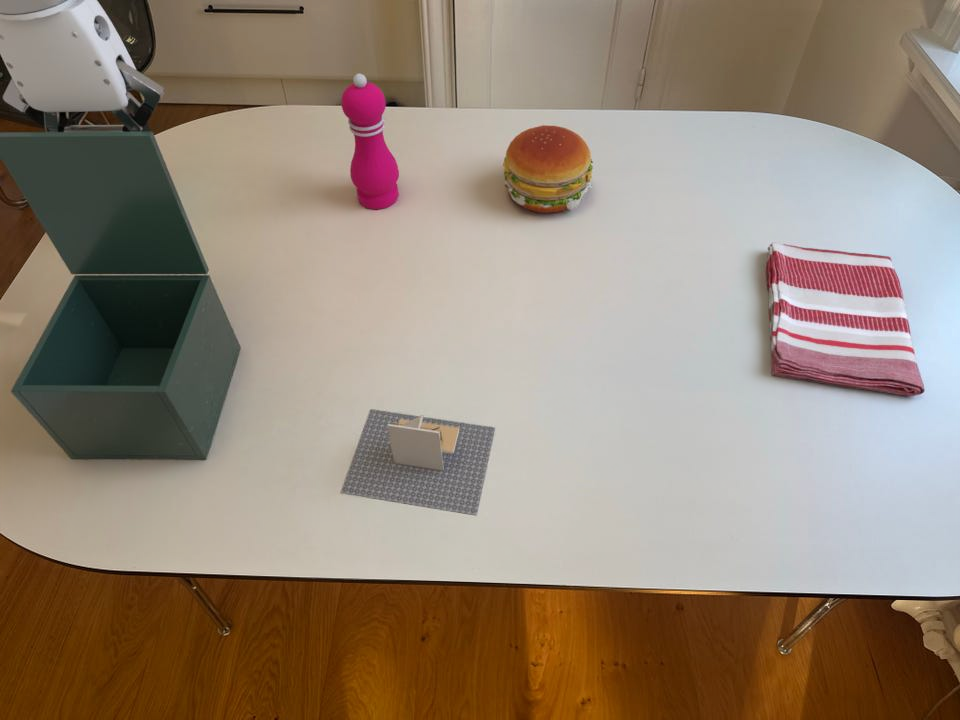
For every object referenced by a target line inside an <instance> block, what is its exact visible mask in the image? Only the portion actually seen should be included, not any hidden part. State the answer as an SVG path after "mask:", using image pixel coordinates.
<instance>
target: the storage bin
mask: <svg viewBox="0 0 960 720" xmlns="http://www.w3.org/2000/svg"><path fill="white" fill-rule="evenodd" d="M241 349H242V347H241V345H240V343H239V340H238V338H237V336H236V333H235V331H234V329H233V326H232V323H231V322H230V319H229V317H228V315H227V313H226V310H225V308H224V306H223V304H222V302H221V298H220V297H219V294H218V292H217V290H216V287H215V285H214V282H213V281H212V278H211V276H210V274H74V276H73V278H72V280H71V281H70V283H69V284H68V286H67V288H66V290H65V291H64V294H63V296H62V298H61V299H60V301H59V303H58V305H57V306H56V309H55V310H54V312H53V314H52V316H51V317H50V319H49V321H48V323H47V325H46V327H45V328H44V330H43V332H42V334H41V336H40V337H39V339H38V341H37V342H36V345H35V347H34V348H33V350H32V351H31V353H30V356H29V357H28V358H27V361H26V363H25V365H24V366H23V368H22V370H21V372H20V373H19V375H18V377H17V379H16V381H15V383H14V384H13V386H12V387H11V390H10V392H11V394H13V396H14V397H15V398H16V399H17V400H18V401H19V402H20V404H21V405H23V407H24V408H25V409H26V410H27V411H28V413H30V415H31V416H32V417H33V419H35V421H37V423H39V425H40V426H41V428H43V429H44V431H45V432H46V433H47V434H48V435H49V436H50V437H51V438H52V440H53V441H54V442H55V443H56V444H57V445H58V446H59V447H60V448H61V450H62V451H63V452H64V453H65V454H66V455H67V456H68V458H69V459H70V460H167V461H168V460H176V461H177V460H178V461H180V460H181V461H183V460H184V461H185V460H188V461H193V460H194V461H206V460H207V459H208V456H209V453H210V450H211V446H212V443H213V440H214V435H215V433H216V430H217V426H218V423H219V420H220V418H221V415H222V414H221V413H222V410H223V408H224V404H225V401H226V398H227V395H228V391H229V389H230V386H231V382H232V378H233V376H234V371H235V369H236V365H237V363H238V359H239V356H240V353H241Z"/></svg>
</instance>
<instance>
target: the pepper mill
mask: <svg viewBox="0 0 960 720" xmlns="http://www.w3.org/2000/svg"><path fill="white" fill-rule="evenodd" d="M352 81H353V83H352V84H350V85H348V86H347V87H346V88H345V89H344V91H343V93H342V95H341V100H340V101H341V109H342V112H343V114H344V115H345V116H346V118H347V120H348V125H349V126H348V128H349V131H350V132H351V133H352V134H353V136H354V152H353V156H352V159H351V162H350V170H349V172H350V179H351V182H352V184H353V185H354V186H355V188H356V193H357V199H358V202H359V204H360V205H361V206H363V207H364V208H366V209H370V210H383V209H386V208H389V207H391V206H393V205H394V204H395V203H396V202H397V201H398V199H399V196H400V195H399V194H400V193H399V188H398V183H397V182H398V180H399V178H400V170H399V166H398V163H397V160H396V157H395V156H394V155H393V154H392V152H391V151H390V149H389V147H388V146H387V143H386V141H385V137H384V130H385V127H386V122H385V116H384V115H383V114H384V113H385V110H386V107H387V104H386V98H385V95H384V93H383V91H382V89H381V88H380V87H379V86H377V85H376V84H374V83H372V82H369V81H368V80H367V78H366V76H365V75H364V74H363V73H356V74H354V76H353V80H352Z"/></svg>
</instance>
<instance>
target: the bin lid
mask: <svg viewBox="0 0 960 720" xmlns="http://www.w3.org/2000/svg"><path fill="white" fill-rule="evenodd" d="M129 131H130V130H129V129H128V128H127V127H126V126H125V125H124V124H78V125H67V126H65V128H64V132H46V131H35V132H34V131H31V132H30V131H29V132H28V131H26V132H25V131H23V132H15V131H14V132H13V131H12V132H9V131H8V132H0V159H1V161H2V163H3V164H4V165H5V168H6V169H7V170H8V172H9V174H10V175H11V177H12V178H13V180H14V182H15V184H16V185H17V187H18V189H19V190H20V192H21V193H22V195H23V197H24V199H25V200H26V202H27V203H28V205H29V207H30V208H31V211H32V212H33V213H34V215H35V217H36V218H37V220H38V222H39V224H40V225H41V227H42V228H43V230H44V232H45V233H46V235H47V236H48V238H49V240H50V242H51V243H52V245H53V247H54V248H55V250H56V252H57V253H58V255H59V257H60V258H61V259H62V261H63V263H64V265H65V266H66V268H67V269H68V271H69V273H70V274H71V275H208V273H209V271H210V268H209V266H208V264H207V262H206V259H205V257H204V254H203V252H202V249H201V246H200V245H199V242H198V239H197V237H196V234H195V232H194V229H193V228H192V225H191V222H190V219H189V218H188V217H189V216H188V215H187V212H186V211H185V208H184V206H183V203H182V200H181V198H180V195H179V192H178V191H177V188H176V186H175V183H174V181H173V178H172V176H171V173H170V171H169V169H168V166H167V164H166V161H165V159H164V157H163V154H162V151H161V149H160V147H159V146H160V145H158V142H157V139H156V136H155V134H154V132H153V131H151V132H129Z"/></svg>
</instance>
